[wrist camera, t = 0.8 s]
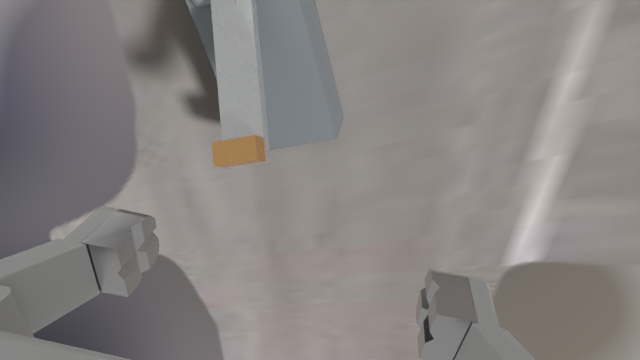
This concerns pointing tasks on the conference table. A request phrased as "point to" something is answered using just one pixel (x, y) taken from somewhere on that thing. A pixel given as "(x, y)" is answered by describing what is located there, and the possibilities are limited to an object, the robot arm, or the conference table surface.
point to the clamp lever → (239, 85)
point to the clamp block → (288, 70)
